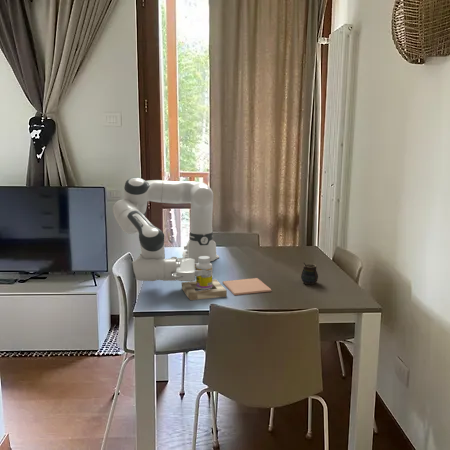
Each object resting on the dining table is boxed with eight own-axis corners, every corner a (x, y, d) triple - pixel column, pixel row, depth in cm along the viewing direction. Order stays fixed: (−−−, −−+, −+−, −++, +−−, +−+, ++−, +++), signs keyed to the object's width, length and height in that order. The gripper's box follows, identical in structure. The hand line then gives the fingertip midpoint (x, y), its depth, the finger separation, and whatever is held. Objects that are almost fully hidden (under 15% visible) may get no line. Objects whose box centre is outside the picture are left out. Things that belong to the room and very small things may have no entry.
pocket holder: (181, 288, 198) (181, 282, 197) (215, 284, 202) (216, 279, 202) (189, 300, 184) (189, 294, 183) (226, 296, 188) (226, 290, 188)
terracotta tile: (222, 283, 205) (222, 281, 204) (257, 279, 209) (257, 278, 209) (234, 295, 190) (234, 293, 190) (271, 291, 194) (271, 289, 194)
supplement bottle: (195, 285, 196) (195, 255, 193) (211, 284, 196) (211, 254, 194) (196, 290, 189) (196, 259, 187) (212, 290, 190) (212, 259, 187)
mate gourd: (321, 283, 205) (322, 261, 203) (311, 287, 200) (312, 264, 198) (307, 279, 210) (308, 257, 208) (297, 283, 205) (298, 261, 203)
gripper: (170, 269, 179) (207, 269, 180) (173, 255, 199) (205, 255, 200) (171, 285, 181) (207, 284, 182) (173, 269, 201) (205, 269, 202)
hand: (206, 269), depth 191 cm, fingers closed on supplement bottle, 7 cm apart
